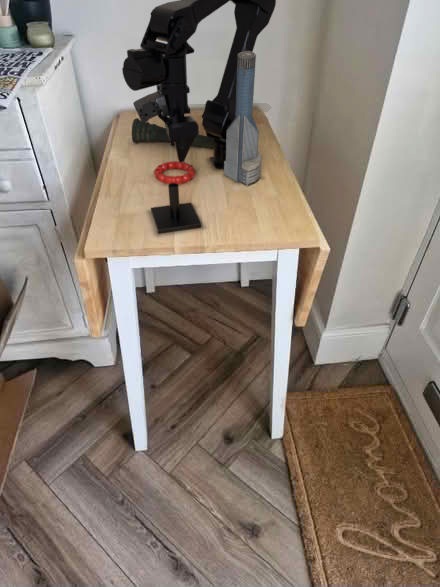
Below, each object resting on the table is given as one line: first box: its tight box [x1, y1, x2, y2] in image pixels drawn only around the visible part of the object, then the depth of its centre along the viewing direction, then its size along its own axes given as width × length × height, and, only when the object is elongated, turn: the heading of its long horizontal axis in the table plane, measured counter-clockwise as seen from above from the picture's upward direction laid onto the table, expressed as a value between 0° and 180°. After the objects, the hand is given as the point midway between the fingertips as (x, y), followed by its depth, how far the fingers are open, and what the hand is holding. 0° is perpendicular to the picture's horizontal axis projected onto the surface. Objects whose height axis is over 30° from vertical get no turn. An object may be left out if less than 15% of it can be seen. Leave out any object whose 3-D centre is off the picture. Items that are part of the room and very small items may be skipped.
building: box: [223, 43, 263, 187], centre depth 96 cm, size 10×9×30 cm
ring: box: [153, 160, 197, 185], centre depth 105 cm, size 10×10×2 cm
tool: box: [131, 117, 214, 149], centre depth 117 cm, size 28×6×7 cm, turn 80°
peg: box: [150, 183, 202, 235], centre depth 88 cm, size 9×9×8 cm
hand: (177, 153), depth 98 cm, fingers open, 9 cm apart
